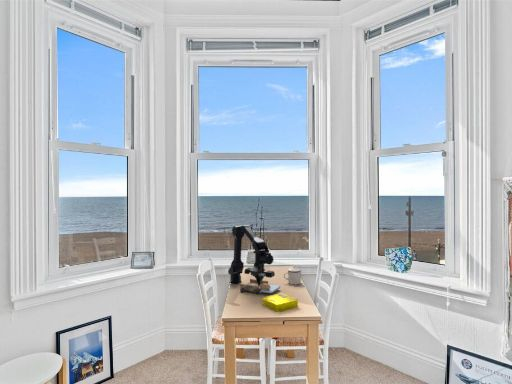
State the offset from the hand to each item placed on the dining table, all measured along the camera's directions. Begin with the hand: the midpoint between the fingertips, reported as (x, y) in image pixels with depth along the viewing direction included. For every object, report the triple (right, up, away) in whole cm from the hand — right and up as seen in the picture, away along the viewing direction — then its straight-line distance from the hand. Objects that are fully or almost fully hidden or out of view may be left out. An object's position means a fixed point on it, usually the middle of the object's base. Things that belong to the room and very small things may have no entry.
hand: (259, 286), depth 201 cm
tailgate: (+4, -2, +2) cm, 5 cm away
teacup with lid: (+23, -4, +20) cm, 31 cm away
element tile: (+11, -4, -24) cm, 27 cm away
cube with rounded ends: (+4, -1, -2) cm, 4 cm away
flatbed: (-3, -4, +6) cm, 7 cm away
